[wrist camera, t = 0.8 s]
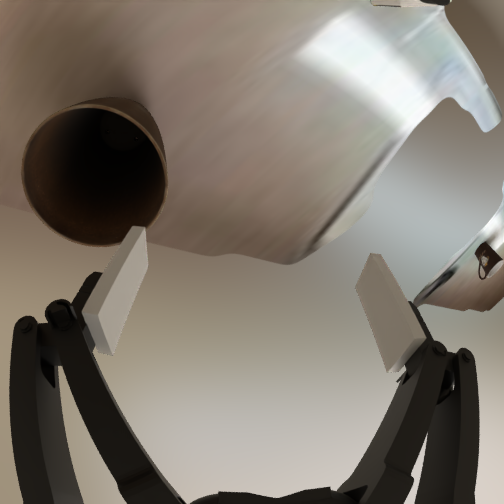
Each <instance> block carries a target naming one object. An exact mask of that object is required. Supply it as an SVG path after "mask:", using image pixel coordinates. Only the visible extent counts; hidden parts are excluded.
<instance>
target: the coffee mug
mask: <svg viewBox="0 0 504 504" xmlns="http://www.w3.org/2000/svg"><path fill="white" fill-rule="evenodd" d="M475 255H476V257H477V259H478V260H479V262H480V263H479V270H478V273H479V278H480V279H481V280H483V279H485V278H486V276H487V277H488V278H489V277H491V276H493V275H494V274H495V273H496V272H497V271H498V270H499V269H500V268H501V266H502V265H503V262H504V261H503V259H502V258H501V257H500V256H499V255H498V254H497V253H496V252H495V251H494V250H493V249H492V248H491V247H490V246H489V245H488V244H487V243H486V242H484V243H482V244H481V245H480V246H479V247H478V248H477V250H476V252H475ZM480 266H482V268H483V269H484V271H485V277H484V278H481V276H480Z"/></svg>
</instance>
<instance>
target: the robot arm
mask: <svg viewBox="0 0 504 504" xmlns="http://www.w3.org/2000/svg"><path fill="white" fill-rule="evenodd" d="M147 268H148V257H147V246H146V233H145V227H139V226H132V228H131V229H130V231H129V232H128V234H127V235H126V237H125V238H124V240H123V241H122V243H121V244H120V246H119V248H118V249H117V251H116V252H115V254H114V256H113V257H112V259H111V261H110V262H109V264H108V266H107V267H106V269H105V270H104V272H103V273H100V272H93V273H92V274H91V275H89V276H88V277H87V278H86V280H85V281H84V283H83V285H82V286H81V288H80V290H79V292H78V293H77V295H76V297H75V298H74V300H73V302H72V303H70V302H69V301H67V300H64V299H59V300H55V301H53V302H51V303H50V304H49V305H48V306H47V308H46V310H45V317H46V319H47V321H48V323H39V324H38V323H37V321H36V319H35V318H34V317H32V316H24V317H22V318H20V319H19V320H18V321H17V322H16V324H15V327H14V331H13V341H12V349H11V362H10V386H9V389H10V390H9V392H10V394H9V397H10V398H9V399H10V423H11V436H12V445H13V453H14V460H15V466H16V471H17V476H18V481H19V486H20V490H21V494H22V498H23V504H84V503H83V499H82V496H81V493H80V490H79V487H78V483H77V480H76V476H75V473H74V469H73V465H72V461H71V457H70V452H69V448H68V443H67V438H66V433H65V427H64V421H63V414H62V406H61V398H60V388H59V378H58V377H59V376H58V366H62V367H63V370H64V373H65V375H66V379H67V381H68V384H69V387H70V389H71V392H72V395H73V397H74V400H75V402H76V405H77V407H78V409H79V412H80V414H81V416H82V419H83V421H84V423H85V425H86V427H87V429H88V431H89V433H90V435H91V438H92V439H93V442H94V443H95V445H96V447H97V449H98V451H99V453H100V455H101V457H102V458H103V460H104V462H105V464H106V465H107V467H108V469H109V470H110V472H111V474H112V475H113V477H114V479H115V480H116V482H117V485H118V489H119V491H120V494H121V495H122V497H123V498H124V500H125V501H126V502H127V504H186V503H185V501H184V500H183V499H182V498H181V497H180V496H179V494H178V493H177V492H176V491H175V490H174V488H173V487H172V486H171V485H170V484H169V483H168V481H167V480H166V479H165V477H164V476H163V475H162V473H161V472H160V471H159V469H158V468H157V467H156V465H155V464H154V462H153V461H152V460H151V458H150V457H149V455H148V454H147V452H146V451H145V449H144V448H143V446H142V445H141V443H140V442H139V440H138V439H137V437H136V435H135V434H134V432H133V431H132V429H131V427H130V425H129V424H128V422H127V420H126V419H125V417H124V415H123V413H122V412H121V410H120V408H119V406H118V404H117V402H116V400H115V399H114V397H113V395H112V393H111V391H110V389H109V387H108V385H107V383H106V381H105V379H104V377H103V375H102V372H101V370H100V368H99V366H98V364H97V361H96V359H95V357H94V355H93V353H92V352H93V349H94V347H95V346H96V348H97V350H98V352H99V353H103V354H107V355H112V356H113V354H114V352H115V349H116V346H117V343H118V340H119V338H120V335H121V332H122V330H123V327H124V324H125V322H126V319H127V317H128V314H129V312H130V309H131V307H132V304H133V301H134V299H135V297H136V294H137V292H138V289H139V287H140V285H141V282H142V280H143V278H144V275H145V273H146V271H147ZM355 288H356V291H357V293H358V296H359V298H360V301H361V303H362V306H363V308H364V310H365V313H366V316H367V318H368V321H369V323H370V326H371V329H372V331H373V334H374V337H375V339H376V342H377V345H378V348H379V351H380V353H381V356H382V359H383V362H384V365H385V368H386V371H387V373H389V372H398V371H399V370H400V369H401V368H402V367H403V366H404V365H405V367H406V371H405V372H404V373H403V374H402V376H401V377H400V378H399V379H398V380H397V381H396V382H399V381H400V380H401V381H400V383H399V386H398V388H397V390H396V393H395V395H394V397H393V400H392V402H391V404H390V406H389V408H388V410H387V413H386V415H385V417H384V419H383V421H382V423H381V425H380V427H379V429H378V430H377V432H376V434H375V436H374V438H373V440H372V442H371V443H370V445H369V447H368V449H367V451H366V452H365V454H364V456H363V458H362V459H361V461H360V462H359V464H358V466H357V467H356V469H355V470H354V472H353V474H352V475H351V476H350V478H349V479H348V480H346V481H345V482H344V483H343V484H342V485H341V486H340V487H339V489H338V490H337V491H333V490H331V489H330V487H324V488H317V489H308V490H303V491H300V492H297V493H294V494H291V495H288V496H284V497H280V498H272V497H266V496H261V495H256V494H252V493H246V492H241V493H240V492H218V494H213V495H209V496H205V497H202V498H199V499H197V500H195V501H193V502H192V503H190V504H404V502H405V500H406V498H407V496H408V494H409V492H410V490H411V488H412V485H413V482H414V478H413V477H412V476H411V472H412V469H413V467H414V465H415V463H416V460H417V458H418V455H419V453H420V450H421V448H422V445H423V443H424V440H425V437H426V435H427V432H428V435H427V443H426V449H425V456H424V462H423V467H422V472H421V478H420V482H419V486H418V490H417V495H416V499H415V504H475V495H474V492H475V485H476V477H477V468H478V456H479V455H478V454H479V396H478V383H477V373H476V365H475V359H474V356H473V354H472V353H471V351H469V350H468V349H466V348H460V349H459V351H458V352H457V353H452V352H448V351H447V349H446V347H445V346H444V345H443V344H442V343H440V342H438V341H434V340H433V338H432V336H431V334H430V332H429V330H428V328H427V326H426V324H425V322H424V321H423V318H422V317H421V315H420V312H419V311H418V309H417V307H416V306H415V305H414V304H413V303H412V302H411V301H407V299H406V297H405V295H404V294H403V292H402V290H401V288H400V286H399V285H398V283H397V281H396V279H395V278H394V276H393V274H392V272H391V271H390V269H389V267H388V266H387V264H386V262H385V261H384V259H383V257H382V256H381V255H380V254H375V253H370V255H369V257H368V260H367V262H366V264H365V267H364V269H363V271H362V273H361V276H360V278H359V280H358V282H357V284H356V287H355ZM453 385H454V390H453Z"/></svg>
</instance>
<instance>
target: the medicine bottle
mask: <svg viewBox="0 0 504 504" xmlns="http://www.w3.org/2000/svg"><path fill="white" fill-rule="evenodd" d="M370 1H371V4H372V5H373V6H394V7H414V6H437V5H442V6H444V5H448V4H449V3H450V2H451V1H452V0H370Z"/></svg>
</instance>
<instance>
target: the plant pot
mask: <svg viewBox="0 0 504 504" xmlns="http://www.w3.org/2000/svg"><path fill="white" fill-rule="evenodd" d="M106 130H109V133H107V132H106ZM135 137H137V138H138V140H137V141H136V140H134V138H135ZM21 176H22V184H23V188H24V192H25V195H26V198H27V200H28V202H29V204H30V206H31V208H32V210H33V211H34V213H35V214H36V215H37V217H38V218H39V219H40V220H41V221H42V222H43V224H45V225H46V226H47V227H48V228H49V229H50V230H52V231H53V232H55V233H56V234H58V235H59V236H61V237H63V238H65V239H67V240H69V241H72V242H74V243H77V244H81V245H85V246H93V247H109V246H115V245H120V244H121V243H122V241H123V240H124V238H125V237H126V235H127V234H128V232H129V231H130V229H131V228H132V226H139V227H145V232H146V231H147V230H148V229H149V228H150V227H151V226H152V225H153V224H154V223H155V221H156V220H157V219H158V217H159V215H160V214H161V212H162V210H163V207H164V205H165V202H166V198H167V192H168V172H167V165H166V157H165V150H164V145H163V141H162V137H161V134H160V131H159V129H158V126H157V124H156V122H155V120H154V119H153V117H152V116H151V114H150V113H149V112H148V110H147V109H146V108H144V107H143V106H142V105H140V104H139V103H137V102H135V101H133V100H129V99H126V98H118V97H106V98H98V99H93V100H88V101H85V102H81V103H78V104H75V105H72V106H70V107H67V108H65V109H62V110H60V111H58V112H56V113H54V114H53V115H51V116H49V117H48V118H47V119H46V120H44V121H43V122H42V123H41V124H40V125H39V126H38V127H37V128H36V130H35V131H34V132H33V134H32V135H31V137H30V139H29V141H28V143H27V145H26V148H25V151H24V154H23V159H22V167H21Z"/></svg>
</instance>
